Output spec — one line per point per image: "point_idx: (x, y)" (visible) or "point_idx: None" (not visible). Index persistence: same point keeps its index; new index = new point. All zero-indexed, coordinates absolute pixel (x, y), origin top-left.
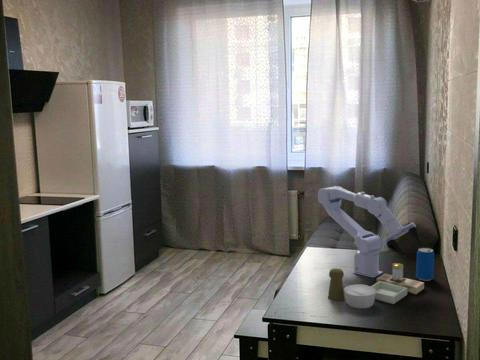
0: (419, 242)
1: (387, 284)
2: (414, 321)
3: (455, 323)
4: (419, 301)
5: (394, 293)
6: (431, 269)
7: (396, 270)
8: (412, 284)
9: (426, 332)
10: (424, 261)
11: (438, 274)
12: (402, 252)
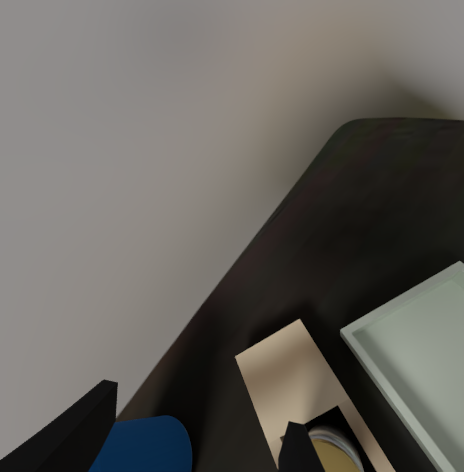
0: (87, 401)
1: (429, 437)
2: (420, 162)
3: (317, 154)
4: (328, 268)
5: (404, 355)
6: (136, 419)
7: (354, 461)
8: (293, 359)
9: (413, 121)
10: (129, 447)
11: None
12: (305, 451)
